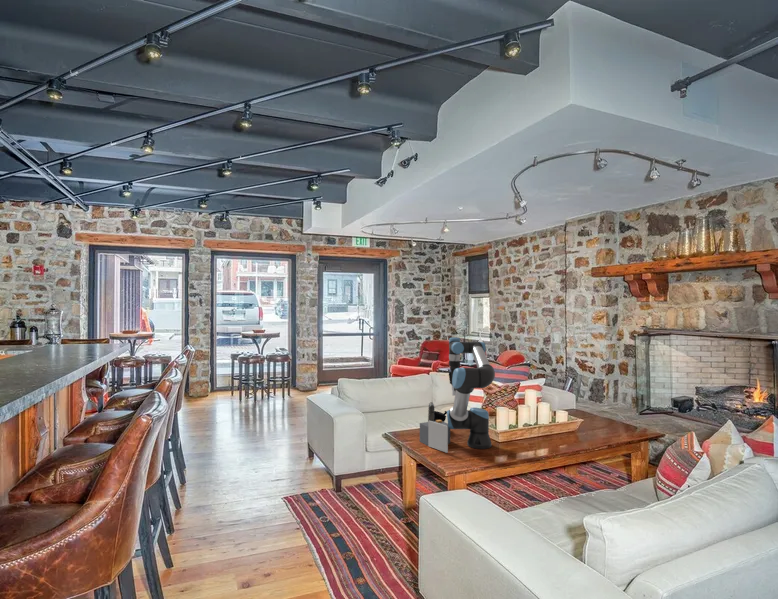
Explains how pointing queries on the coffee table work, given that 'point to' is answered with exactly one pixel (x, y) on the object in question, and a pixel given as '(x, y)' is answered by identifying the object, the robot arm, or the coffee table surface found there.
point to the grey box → (425, 431)
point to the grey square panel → (438, 436)
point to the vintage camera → (435, 414)
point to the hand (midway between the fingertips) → (454, 395)
